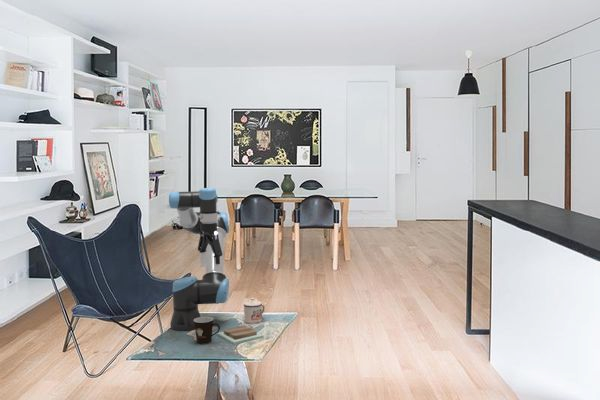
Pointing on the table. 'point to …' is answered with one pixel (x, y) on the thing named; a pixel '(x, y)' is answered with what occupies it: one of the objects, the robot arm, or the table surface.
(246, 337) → the sage mat
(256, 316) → the teacup with lid
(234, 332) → the walnut lid
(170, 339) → the table surface
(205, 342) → the coffee mug
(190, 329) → the robot arm
